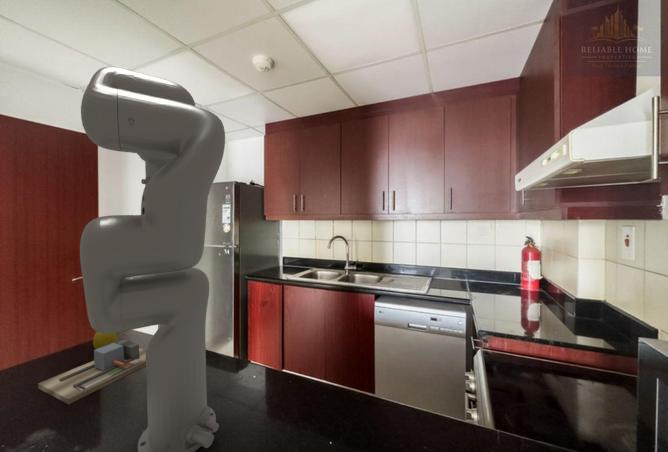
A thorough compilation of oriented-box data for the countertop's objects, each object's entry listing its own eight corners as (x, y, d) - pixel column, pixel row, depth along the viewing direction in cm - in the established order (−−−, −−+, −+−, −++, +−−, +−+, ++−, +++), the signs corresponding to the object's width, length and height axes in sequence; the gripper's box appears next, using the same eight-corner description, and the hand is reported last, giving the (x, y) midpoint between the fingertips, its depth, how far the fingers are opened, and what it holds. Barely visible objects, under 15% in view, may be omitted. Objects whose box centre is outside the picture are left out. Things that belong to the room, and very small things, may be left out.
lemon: (122, 348, 82) (121, 323, 81) (105, 357, 76) (104, 330, 76) (106, 347, 82) (105, 322, 82) (88, 356, 77) (87, 330, 76)
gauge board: (160, 358, 75) (159, 340, 75) (68, 404, 57) (67, 381, 57) (130, 349, 81) (129, 332, 81) (38, 388, 62) (37, 367, 62)
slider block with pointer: (132, 364, 70) (132, 348, 69) (113, 374, 65) (112, 356, 65) (114, 358, 73) (113, 342, 73) (94, 367, 69) (93, 350, 68)
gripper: (142, 181, 67) (144, 252, 68) (193, 187, 81) (195, 245, 81) (124, 183, 70) (127, 250, 71) (177, 188, 84) (178, 245, 84)
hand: (163, 247), depth 76 cm, fingers closed
